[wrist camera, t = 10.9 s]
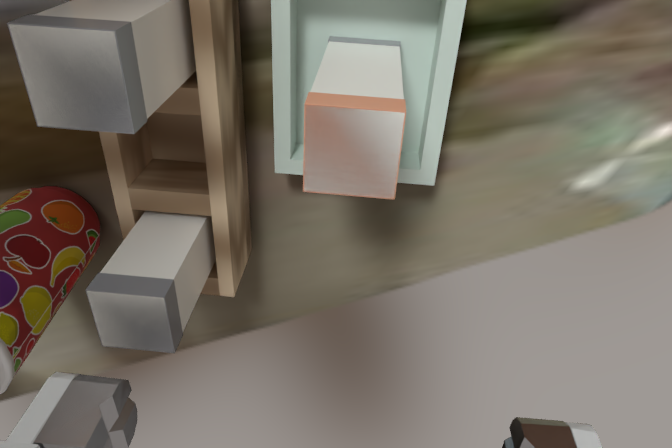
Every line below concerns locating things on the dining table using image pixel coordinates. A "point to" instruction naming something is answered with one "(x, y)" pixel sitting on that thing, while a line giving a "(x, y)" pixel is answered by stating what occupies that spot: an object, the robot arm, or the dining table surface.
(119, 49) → the block
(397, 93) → the block
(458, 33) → the tray
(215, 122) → the socket strip
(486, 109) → the dining table surface
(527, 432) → the robot arm
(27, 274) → the smoothie
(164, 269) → the block
